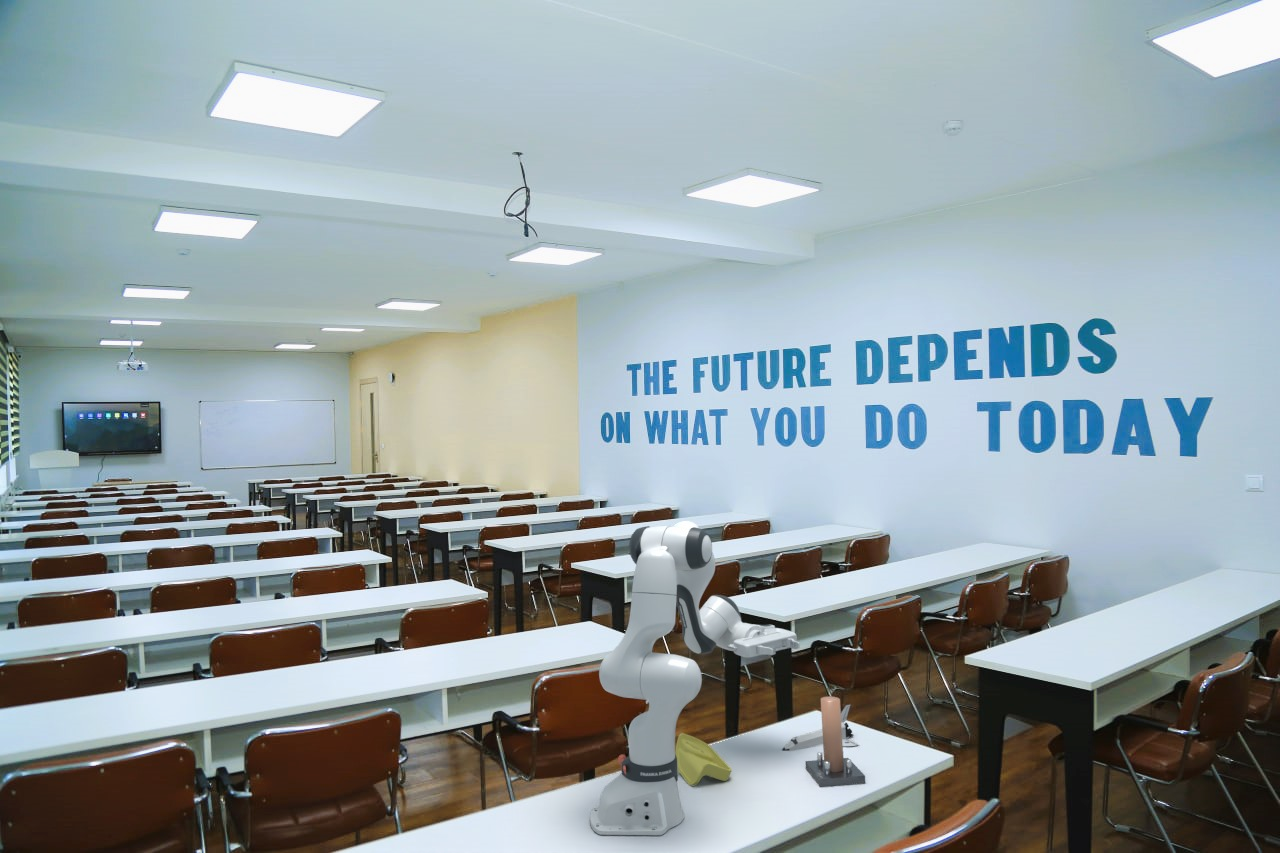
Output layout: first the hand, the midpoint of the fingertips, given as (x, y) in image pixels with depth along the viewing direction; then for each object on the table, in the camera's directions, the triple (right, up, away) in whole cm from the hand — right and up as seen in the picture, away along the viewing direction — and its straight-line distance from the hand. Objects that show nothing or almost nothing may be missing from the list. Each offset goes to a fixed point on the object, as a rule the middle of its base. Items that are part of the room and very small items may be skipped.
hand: (786, 648), depth 218 cm
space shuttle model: (+12, -33, +16) cm, 38 cm away
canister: (+11, -29, -8) cm, 32 cm away
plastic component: (-23, -33, -2) cm, 41 cm away
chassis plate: (+11, -31, -8) cm, 34 cm away
